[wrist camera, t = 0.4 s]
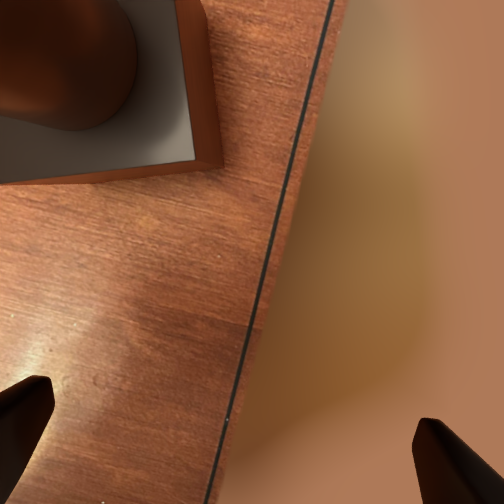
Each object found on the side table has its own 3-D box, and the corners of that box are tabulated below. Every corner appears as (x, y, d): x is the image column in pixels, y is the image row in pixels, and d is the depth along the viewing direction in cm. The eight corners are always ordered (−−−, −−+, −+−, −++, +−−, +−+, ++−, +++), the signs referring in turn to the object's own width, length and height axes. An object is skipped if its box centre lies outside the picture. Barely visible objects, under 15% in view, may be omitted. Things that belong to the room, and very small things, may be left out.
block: (224, 167, 21) (196, 160, 13) (89, 183, 22) (-15, 185, 14) (205, 13, 20) (161, -97, 12) (61, 35, 20) (-72, -57, 12)
